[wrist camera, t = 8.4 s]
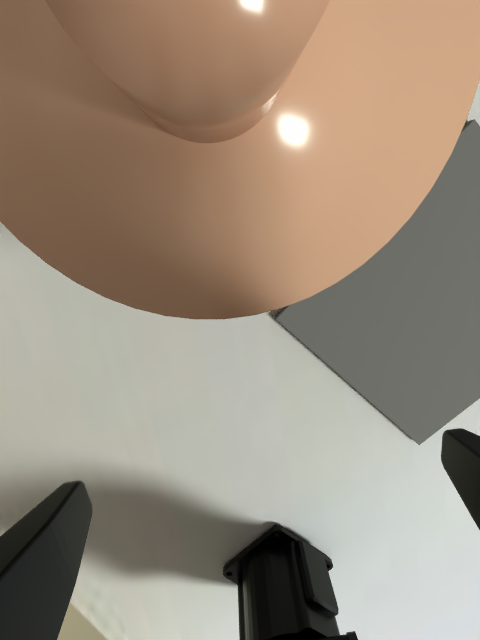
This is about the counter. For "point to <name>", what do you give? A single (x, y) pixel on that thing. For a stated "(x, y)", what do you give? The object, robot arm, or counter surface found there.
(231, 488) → the counter surface
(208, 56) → the terracotta lid
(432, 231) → the rubber mat
